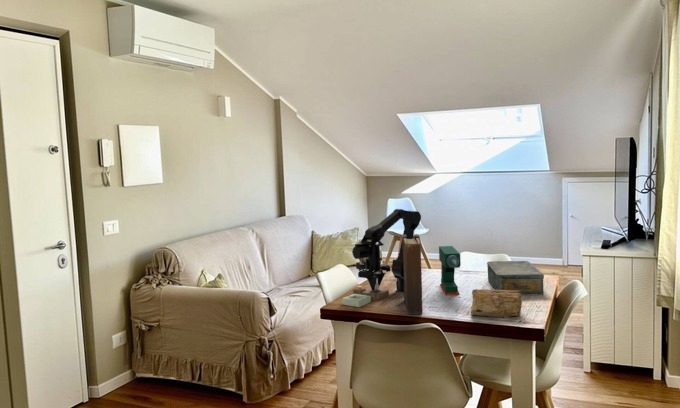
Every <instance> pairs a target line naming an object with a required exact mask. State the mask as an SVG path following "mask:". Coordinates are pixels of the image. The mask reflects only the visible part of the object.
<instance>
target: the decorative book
mask: <svg viewBox="0 0 680 408" xmlns="http://www.w3.org/2000/svg"><path fill="white" fill-rule="evenodd" d="M401 242H402V248H403V262H404V292H403V300H404V305H405V308H406V309H405V311H406V313H407V314H409V315H422V314H423V310H424V309H423V281H422V280H423V279H422V278H423V277H422V275H423V274H422V244H421V243H422V242H421V240H420V235H419V233H418V234H417V233H414V235H413V239H407V237H406V235H403V234H402V235H401Z"/></svg>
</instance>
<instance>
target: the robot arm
mask: <svg viewBox="0 0 680 408" xmlns="http://www.w3.org/2000/svg"><path fill="white" fill-rule="evenodd" d="M421 219H422V215H421V213H420V212H419V211H416V210H405V209H402V208H395V209H394V210H393V211H392V212H391V213H390V214H388V216H386V217H385V218H384V219H383V220H381V221H380V222H379V223H378V224H376V225H373V226H370V227H369V228H367V229H366V230H365V232H364V235H363V237H362V239H361V241H360V243H354V247H353V248H352V254H351V255H352V256H353V258H354V259H355V260H360V259H364V258H365V261H364V262H362V261H357V262H355V268H356V270H358V272H357V276H358V277H357V278H361V279H362V278H363V279H367V281H368V284H369V286H370V289H372V290H374V289H375V285H376V280H377V277H378V285H379V287H380V286H381V284H382V281H383V279H384V277H385V275H386V274H387V272H390V271H391V273H392V274H393V277H394V278H395V279H396V281H395V283H396V290H395V292H397V293H404V262H403V248H402V241H401V243H400V248H399V251H398V252H399V253H398V256H397V258H396V259H392V262H391V263H392V264H391V266H390V265H389V264H382V263H381V261H383V258H382V257H381V247H382V246H384V245H385V244H384V243H383V242H382V241H381V240H382V239H383V238H384V236H385V233H386V232H387V231H388V230H389V229H390V228H391V227H392V226H394V225H395V224H396V223H397V222H399V221H400V220H402V224H403V228H404V229H403V233H402V235H406V237H407V239H414V234H415V231H416V229H417V228H418V226H419V225H420V222H421ZM384 271H385V272H386V273H385V272H384Z"/></svg>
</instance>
